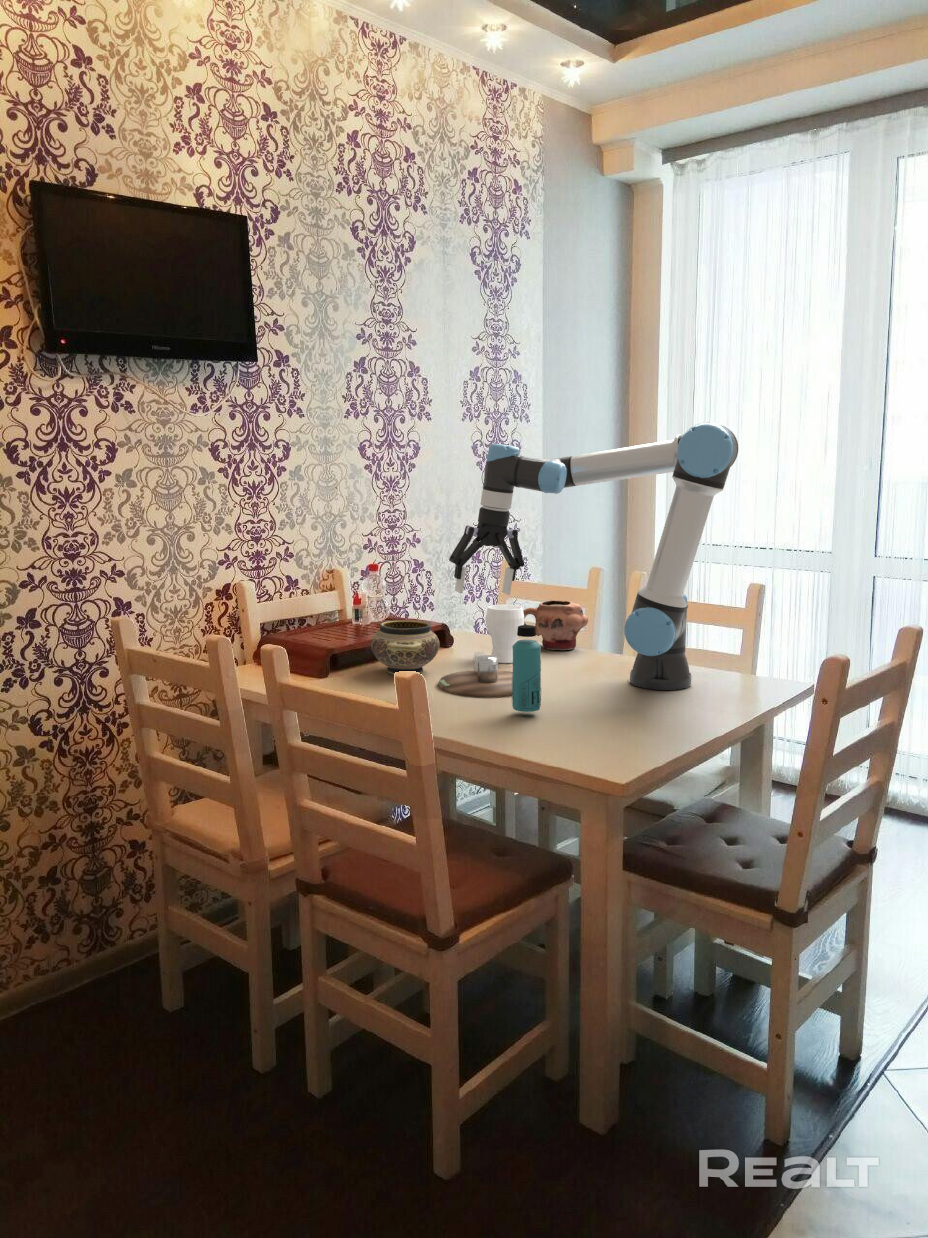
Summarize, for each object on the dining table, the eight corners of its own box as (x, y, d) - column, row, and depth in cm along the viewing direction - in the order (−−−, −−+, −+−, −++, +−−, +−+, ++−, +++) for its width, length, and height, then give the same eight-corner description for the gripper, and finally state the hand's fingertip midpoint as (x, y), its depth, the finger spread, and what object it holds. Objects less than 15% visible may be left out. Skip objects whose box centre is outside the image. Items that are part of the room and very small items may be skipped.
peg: (499, 682, 230) (499, 659, 229) (479, 683, 229) (479, 660, 228) (486, 668, 244) (486, 646, 243) (468, 669, 243) (468, 647, 242)
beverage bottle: (532, 720, 201) (533, 629, 198) (505, 715, 205) (506, 626, 201) (546, 713, 207) (547, 624, 203) (519, 709, 210) (520, 621, 207)
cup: (530, 659, 261) (531, 606, 259) (511, 666, 252) (512, 611, 250) (497, 654, 267) (498, 602, 264) (478, 661, 258) (478, 608, 255)
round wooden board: (555, 688, 228) (555, 683, 228) (471, 702, 216) (471, 696, 216) (501, 669, 248) (501, 664, 248) (422, 680, 236) (422, 675, 236)
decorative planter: (519, 652, 270) (519, 604, 268) (519, 643, 282) (520, 598, 280) (588, 653, 269) (589, 605, 267) (586, 644, 281) (587, 598, 279)
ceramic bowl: (426, 694, 234) (441, 637, 232) (358, 676, 234) (372, 619, 231) (433, 671, 258) (446, 620, 256) (371, 655, 258) (384, 603, 256)
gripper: (530, 509, 237) (517, 590, 242) (443, 502, 225) (431, 587, 230) (545, 514, 231) (532, 597, 235) (457, 507, 219) (445, 594, 223)
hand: (482, 592), depth 233 cm, fingers open, 13 cm apart
